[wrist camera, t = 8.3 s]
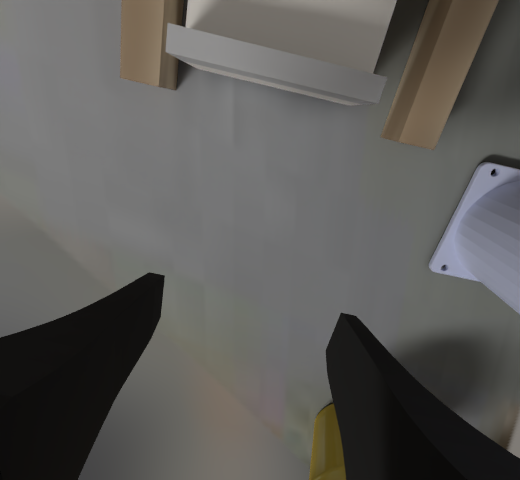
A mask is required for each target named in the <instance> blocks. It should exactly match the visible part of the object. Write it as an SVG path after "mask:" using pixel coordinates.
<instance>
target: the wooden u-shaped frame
mask: <svg viewBox="0 0 520 480" xmlns="http://www.w3.org/2000/svg"><path fill="white" fill-rule="evenodd" d="M498 1H499V0H429V2H428V5H427V8H426V11H425V13H424V16H423V19H422V22H421V25H420V28H419V30H418V33H417V36H416V39H415V42H414V44H413V47H412V50H411V53H410V56H409V58H408V61H407V64H406V67H405V70H404V72H403V75H402V78H401V81H400V84H399V86H398V89H397V92H396V95H395V98H394V100H393V103H392V106H391V109H390V112H389V115H388V117H387V120H386V123H385V126H384V129H383V131H382V134H381V138H385V139H389V140H393V141H397V142H401V143H406V144H410V145H414V146H419V147H423V148H427V149H432V150H434V149H435V147H436V144H437V142H438V140H439V137H440V135H441V133H442V130H443V128H444V126H445V123H446V121H447V119H448V117H449V114H450V112H451V110H452V107H453V105H454V103H455V100H456V98H457V96H458V93H459V91H460V89H461V86H462V84H463V82H464V80H465V77H466V75H467V73H468V70H469V68H470V66H471V63H472V61H473V59H474V56H475V54H476V52H477V50H478V47H479V45H480V43H481V40H482V38H483V36H484V33H485V31H486V29H487V26H488V24H489V22H490V20H491V17H492V15H493V13H494V10H495V8H496V6H497V3H498ZM183 5H184V0H122V10H121V69H120V78H123V79H127V80H132V81H136V82H140V83H145V84H149V85H153V86H158V87H163V88H168V89H172V90H176V87H177V75H178V64H179V59H178V58H176V57H174V56H172V55H170V54H168V53H167V52H165V51H166V38H167V25H168V23H171V24H175V25H179V26H182V17H183Z"/></svg>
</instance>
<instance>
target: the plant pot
mask: <svg viewBox="0 0 520 480" xmlns="http://www.w3.org/2000/svg"><path fill="white" fill-rule="evenodd" d="M309 480H346V474H345V465H344V457H343V448H342V442H341V436H340V430H339V426H338V421H337V417H336V412H335V407H334V403H333V404H331V405H329V406H327V407H325V408H324V409H323V410H321V411H320V412H319V414H318V415H317V417H316V419H315V424H314V436H313V446H312V456H311V466H310V476H309Z"/></svg>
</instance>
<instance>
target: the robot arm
mask: <svg viewBox="0 0 520 480" xmlns="http://www.w3.org/2000/svg"><path fill="white" fill-rule="evenodd" d="M493 169H495V173H494V174H493V175H491V171H492V170H493ZM443 265H446V266H445V267H444V268H441V267H442V266H443ZM429 268H430V269H431V270H432V271H433V272H437V273H442V274H446V275H451V276H456V277H460V278H465V279H470V280H475V281H479V282H482V283H483V284H484V285H485V286H486V287H488V288H489V289H490V290H491V291H492V292H494V293H495V294H496V295H497V296H498V297H500V298H501V299H502V300H503V301H504V302H506V303H507V304H508V305H509V306H510V307H512V308H513V309H514V310H515V311H516V312H518V313H519V314H520V169H516V168H512V167H508V166H503V165H499V164H494V163H490V162H483V163H481V164H480V165H479V166H478V167H477V169H476V171H475V173H474V175H473V177H472V179H471V181H470V183H469V185H468V187H467V189H466V191H465V193H464V194H463V196H462V198H461V200H460V202H459V204H458V206H457V208H456V210H455V212H454V214H453V216H452V218H451V220H450V222H449V224H448V226H447V228H446V230H445V232H444V234H443V236H442V238H441V240H440V242H439V244H438V246H437V248H436V250H435V252H434V254H433V256H432V258H431V260H430V262H429ZM164 277H165V276H164V275H159V274H155V273H150V272H149V273H147V274H146V275H144V276H142V277H140V278H139V279H137V280H135V281H133V282H132V283H130V284H128V285H127V286H125V287H123V288H121V289H120V290H118V291H116V292H114V293H112V294H111V295H109V296H107V297H105V298H103V299H101V300H99V301H97V302H95V303H93V304H91V305H89V306H87V307H85V308H82V309H80V310H78V311H76V312H73V313H71V314H69V315H66V316H64V317H61V318H59V319H56V320H54V321H51V322H48V323H45V324H42V325H39V326H36V327H33V328H30V329H27V330H24V331H21V332H18V333H15V334H11V335H8V336H4V337H1V338H0V480H78V478H79V475H80V473H81V471H82V469H83V466H84V464H85V462H86V459H87V457H88V455H89V453H90V451H91V449H92V446H93V444H94V442H95V440H96V438H97V436H98V433H99V431H100V429H101V427H102V425H103V423H104V421H105V419H106V417H107V415H108V413H109V410H110V408H111V406H112V404H113V402H114V400H115V398H116V397H117V395H118V393H119V391H120V389H121V388H122V386H123V384H124V383H125V381H126V380H127V378H128V376H129V375H130V373H131V371H132V369H133V368H134V366H135V365H136V363H137V361H138V360H139V358H140V356H141V354H142V353H143V351H144V350H145V348H146V346H147V344H148V343H149V341H150V339H151V337H152V335H153V333H154V331H155V328H156V326H157V324H158V322H159V319H160V317H161V307H162V297H163V287H164ZM326 362H327V373H328V379H329V384H330V389H331V394H332V398H333V403H334V407H335V412H336V417H337V421H338V426H339V430H340V436H341V442H342V448H343V457H344V465H345V474H346V480H520V458H518V457H516V456H515V455H513V454H512V453H510V452H509V451H507V450H506V449H504V448H503V447H501V446H500V445H498V444H497V443H495V442H494V441H492V440H491V439H490V438H488V437H487V436H485V435H484V434H482V433H481V432H480V431H478V430H477V429H475V428H474V427H473V426H471V425H470V424H469V423H467V422H466V421H465V420H463V419H462V418H461V417H460V416H458V415H457V414H456V413H454V412H453V411H452V410H450V409H449V408H448V407H447V406H446V405H444V404H443V403H442V402H441V401H439V400H438V399H437V398H436V397H435V396H434V395H433V394H431V393H430V392H429V391H428V390H427V389H426V388H425V387H423V386H422V385H421V384H420V383H419V382H418V381H417V380H416V379H415V378H414V377H413V376H412V375H411V374H410V373H409V372H408V371H407V370H406V369H405V368H404V367H403V366H402V365H401V364H400V363H399V362H398V361H397V360H396V359H395V358H394V357H393V356H392V355H391V354H390V353H389V352H388V351H387V350H386V348H385V347H384V346H383V345H382V344H381V343H380V342H379V341H378V340H377V339H376V337H375V336H374V335H373V334H372V333H371V332H370V331H369V329H368V328H367V327H366V326H365V325H364V324H363V323H362V322H361V321H360V320H359V319H358V318H357V317H356V316H354V315H349V314H344V313H341V314H340V317H339V319H338V322H337V324H336V327H335V329H334V332H333V334H332V337H331V339H330V341H329V344H328V346H327V349H326Z"/></svg>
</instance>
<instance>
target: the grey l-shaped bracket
mask: <svg viewBox="0 0 520 480" xmlns="http://www.w3.org/2000/svg"><path fill="white" fill-rule="evenodd" d="M396 2H397V0H188V6H187V17H186V27H183V26H179V25H175V24H171V23H168V25H167V38H166V51H165V52H167V53H168V54H170V55H172V56H174V57H176V58H178V59H180V60H182V61H183V62H185V63H187V64H189V65H191V66H193V67H195V68H197V69H200V70H204V71H208V72H213V73H217V74H221V75H225V76H229V77H233V78H237V79H241V80H246V81H250V82H254V83H258V84H262V85H266V86H270V87H275V88H279V89H283V90H287V91H291V92H295V93H299V94H303V95H308V96H312V97H316V98H320V99H324V100H328V101H332V102H337V103H341V104H345V105H366V104H378V103H379V101H380V98H381V95H382V92H383V89H384V86H385V83H386V80H387V77H385V76H381V75H376V74H373V72H374V69H375V66H376V63H377V60H378V57H379V54H380V51H381V48H382V45H383V42H384V39H385V35H386V32H387V29H388V26H389V23H390V20H391V17H392V14H393V11H394V8H395V5H396Z"/></svg>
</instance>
